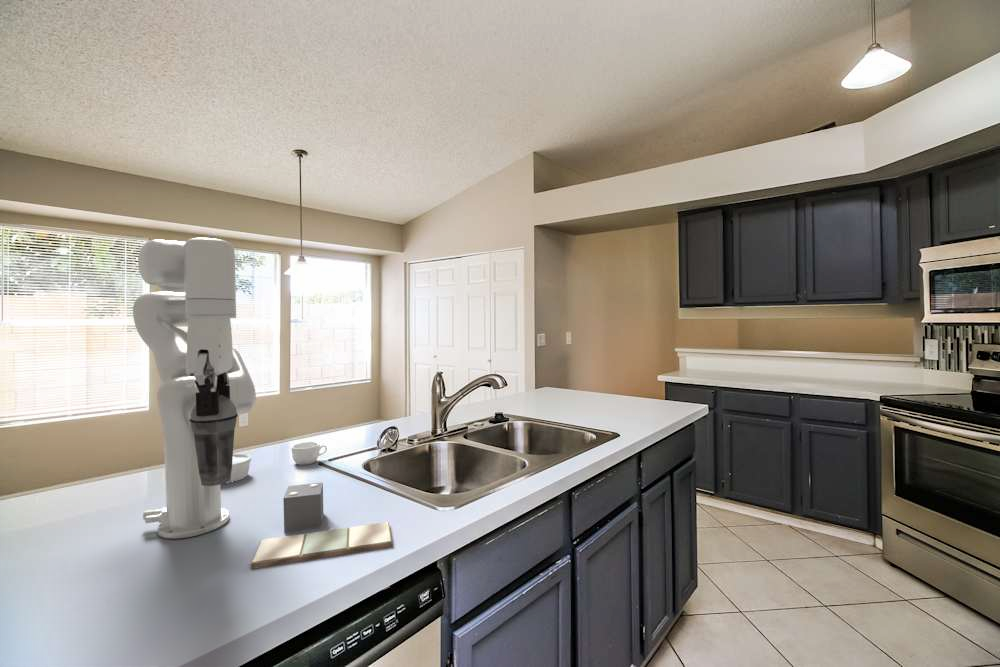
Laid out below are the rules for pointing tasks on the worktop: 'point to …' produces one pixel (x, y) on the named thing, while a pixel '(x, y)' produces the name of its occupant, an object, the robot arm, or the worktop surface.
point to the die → (303, 507)
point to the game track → (321, 544)
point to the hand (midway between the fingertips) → (214, 410)
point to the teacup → (306, 452)
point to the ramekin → (240, 466)
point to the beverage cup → (215, 442)
